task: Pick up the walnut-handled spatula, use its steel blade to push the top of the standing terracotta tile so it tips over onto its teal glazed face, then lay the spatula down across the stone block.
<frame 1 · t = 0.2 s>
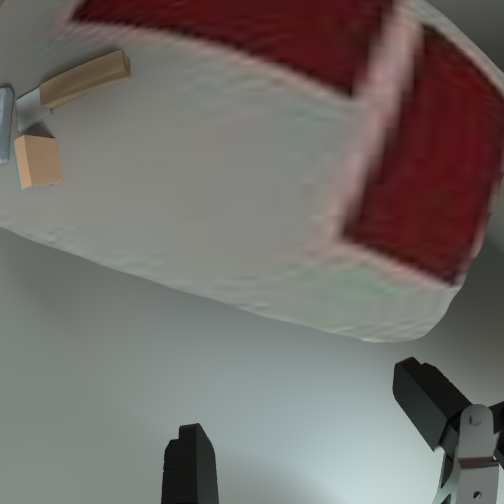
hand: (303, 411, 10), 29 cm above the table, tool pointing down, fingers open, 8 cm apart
spatula: (69, 91, 29), on the table
tile: (54, 161, 31), on the table
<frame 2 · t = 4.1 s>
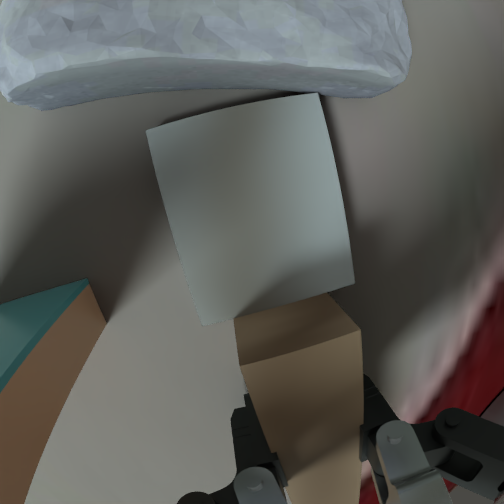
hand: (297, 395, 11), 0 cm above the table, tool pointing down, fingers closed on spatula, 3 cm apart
spatula: (290, 362, 11), on the table, touching gripper
tile: (38, 316, 9), on the table
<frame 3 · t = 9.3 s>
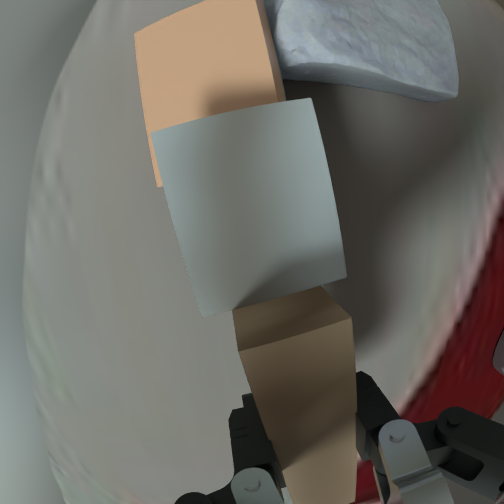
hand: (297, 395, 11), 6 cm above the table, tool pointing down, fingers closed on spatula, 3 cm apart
stone block: (351, 23, 13), on the table, touching tile
spatula: (286, 354, 11), point 6 cm above the table, touching gripper
tile: (224, 172, 12), point 2 cm above the table, tilted 90°, touching stone block
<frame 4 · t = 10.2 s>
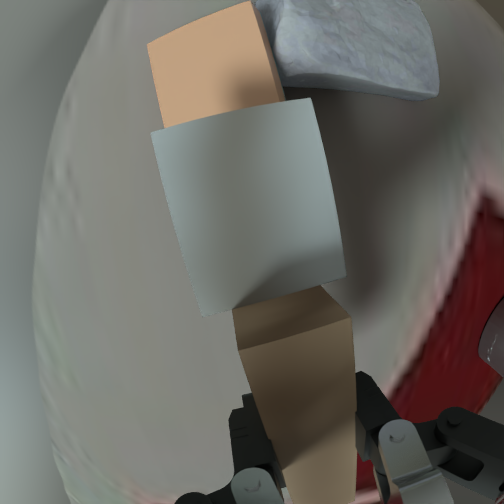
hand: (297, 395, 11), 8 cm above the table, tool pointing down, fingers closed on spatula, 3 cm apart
stone block: (340, 32, 15), on the table
spatula: (286, 353, 11), point 8 cm above the table, touching gripper
tile: (236, 162, 14), point 2 cm above the table, tilted 90°
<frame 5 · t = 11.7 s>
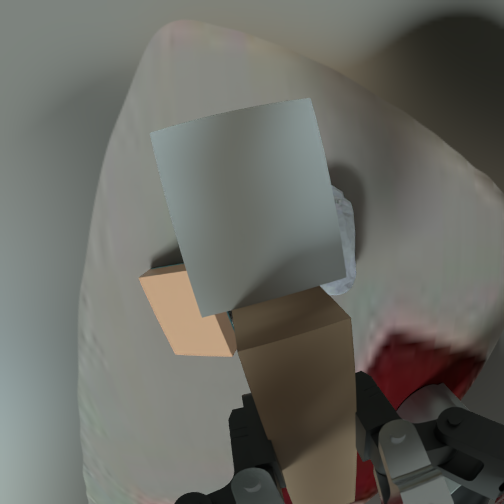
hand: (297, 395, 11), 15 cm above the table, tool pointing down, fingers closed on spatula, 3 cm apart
stone block: (280, 234, 26), on the table, touching tile
spatula: (286, 354, 11), point 15 cm above the table, touching gripper
tile: (206, 349, 25), point 2 cm above the table, tilted 90°, touching stone block
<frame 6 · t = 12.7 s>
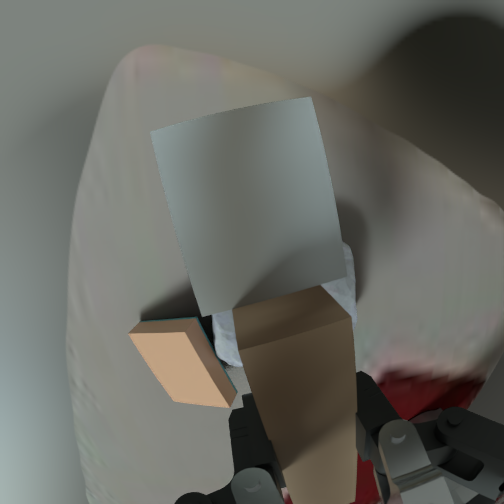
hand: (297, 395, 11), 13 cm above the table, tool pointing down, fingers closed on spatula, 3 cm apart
stone block: (275, 281, 24), on the table
spatula: (286, 353, 11), point 12 cm above the table, touching gripper
tile: (204, 397, 23), point 2 cm above the table, tilted 90°
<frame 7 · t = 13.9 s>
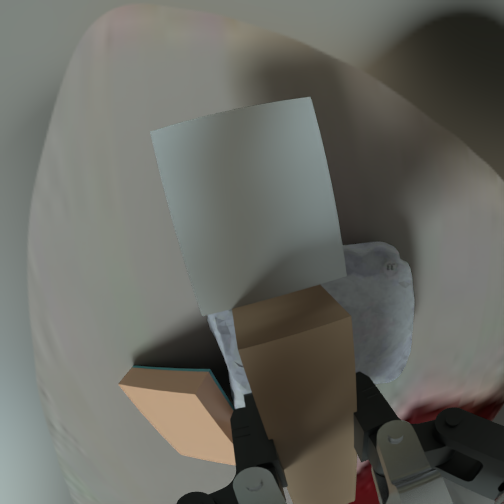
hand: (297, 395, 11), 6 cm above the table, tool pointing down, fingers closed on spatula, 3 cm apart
stone block: (308, 311, 18), on the table, touching tile
spatula: (286, 353, 11), point 5 cm above the table, touching gripper
tile: (218, 452, 17), point 2 cm above the table, tilted 90°, touching stone block
when the fingers open (6 cm above the table, at t = 14.0 s): spatula drops 2 cm, resting on stone block.
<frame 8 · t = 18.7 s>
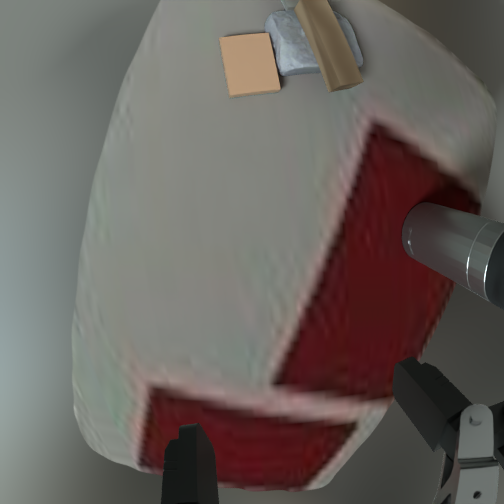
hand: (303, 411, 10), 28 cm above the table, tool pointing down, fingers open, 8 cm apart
stone block: (308, 43, 31), on the table, touching spatula, tile
spatula: (313, 27, 27), point 3 cm above the table, touching stone block
tile: (254, 93, 31), point 1 cm above the table, tilted 90°, touching stone block
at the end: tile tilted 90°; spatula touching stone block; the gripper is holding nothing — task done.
